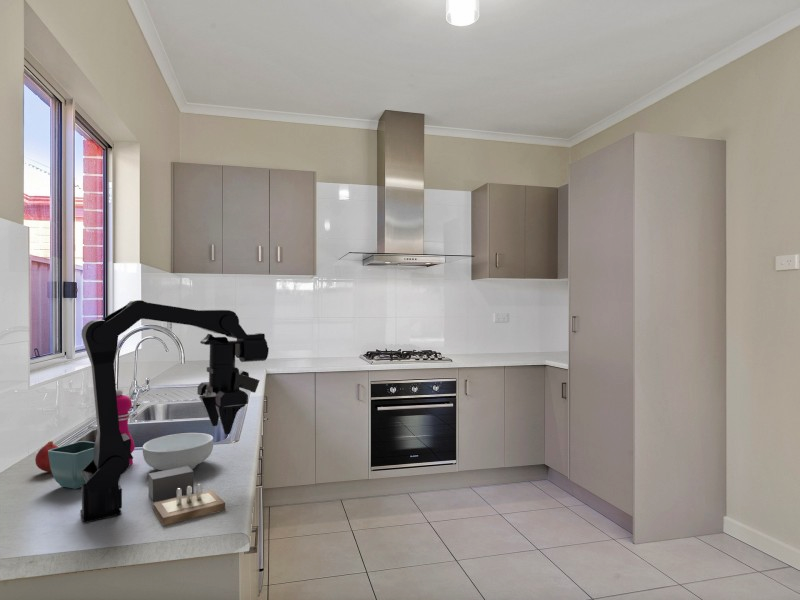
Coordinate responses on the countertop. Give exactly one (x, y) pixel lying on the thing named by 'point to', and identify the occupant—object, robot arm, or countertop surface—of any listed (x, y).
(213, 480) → the countertop surface
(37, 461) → the onion
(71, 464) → the flower pot
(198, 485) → the header pins
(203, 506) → the pin board
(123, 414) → the pepper mill
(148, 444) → the cereal bowl
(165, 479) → the block
